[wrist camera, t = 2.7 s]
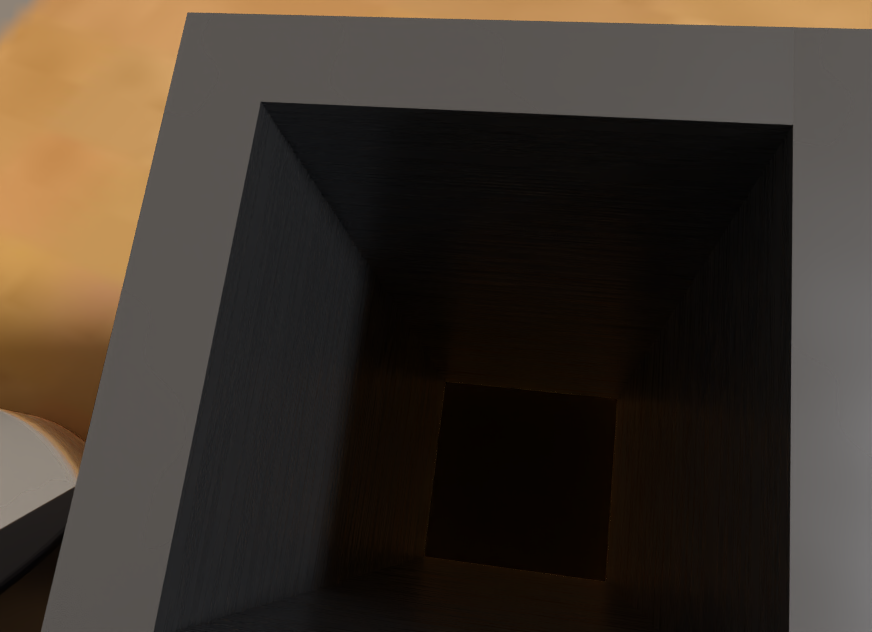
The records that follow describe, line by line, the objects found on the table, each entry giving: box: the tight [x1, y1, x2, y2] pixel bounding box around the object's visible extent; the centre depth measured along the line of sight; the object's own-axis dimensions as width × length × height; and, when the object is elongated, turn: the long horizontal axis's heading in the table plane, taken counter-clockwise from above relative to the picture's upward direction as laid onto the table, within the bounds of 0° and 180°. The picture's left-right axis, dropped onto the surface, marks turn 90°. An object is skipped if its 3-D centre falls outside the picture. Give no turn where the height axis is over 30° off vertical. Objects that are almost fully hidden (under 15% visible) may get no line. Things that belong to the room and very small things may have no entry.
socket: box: [41, 13, 872, 632], centre depth 11 cm, size 6×6×12 cm
